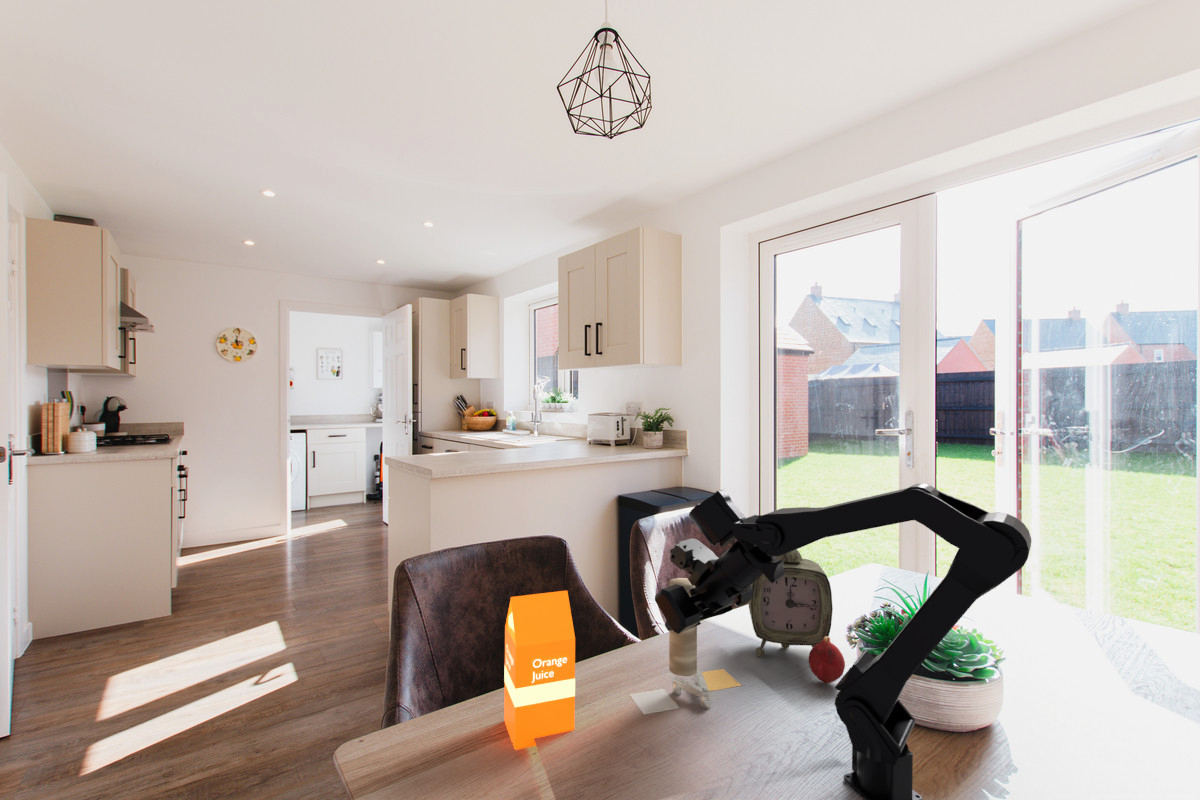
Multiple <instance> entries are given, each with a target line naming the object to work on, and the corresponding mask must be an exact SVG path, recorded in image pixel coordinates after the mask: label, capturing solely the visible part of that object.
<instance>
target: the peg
mask: <svg viewBox="0 0 1200 800" xmlns="http://www.w3.org/2000/svg"><path fill="white" fill-rule="evenodd" d="M688 578H689V577H688ZM688 578H687V577H677V578H672V579H669V581H668V582H669V583H668V584H669V586H672V585H675V584H678V585H681V586H683V587H684V588H685V590H686V591H687V593H688V595H689V596H691V595H690V594H689V592H688V591H689V590H690V589H692V588H695V585H693V586H692V584H691V583H690V581H689V580H688ZM669 586H668V587H669ZM691 597H692V596H691ZM697 634H698V626H696V627H693V628H691V629H689V630H686V631H684V632H682V633H680V634H677V633H675V632H674V631H673V630H671V631H668V640H669V641H668V670H669V671H670V673H672V674H673V675H676V676H677V677H691V676H694V674H695V673H696V672H697V670H698V668H697V667H698V666H697V665H698V661H697V660H698V657H697V656H698V635H697Z"/></svg>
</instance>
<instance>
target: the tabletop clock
mask: <svg viewBox="0 0 1200 800" xmlns="http://www.w3.org/2000/svg"><path fill="white" fill-rule="evenodd" d="M774 557H776V558H778V559H782V560H783V561H784V562H783V568H784V573H785V575H784V576H783V577H782V578H780V579H778V580H777V581H775V582H774V583H771V582H770V581H769V580H768V579H767V577H766V576H765V575H764V574H763V575H762V576H760V577H759V578H758V579H757V580H756V581H755V582H753V583H752V584H751V585H750V586H751V587H752V590H753V598H752V599H751V600H749V601H748V602H747V603H748V609H749V614H750V618H751V623H752V627H753V631H754V633H755V635H756V637H757V638H759V639H760V640H761V644H760V646H758V647H757V648H756V649H755V655H757V656H758V657H763V656H764V655H765V650H764V647H765V646H766V643H767V642H768V643H774V644H775V643H776V644H781V645H780V646H781V648H783V649H789V648H790V646H811V649H812V648H813V647H814V646H815V645H816V644H818V643H820V642H822V641H823V639H824V637H826V636H827V637H829V635H830V633H831V629H832V619H833V596H832V589H831V584H830V581H829V578H828V576H827V574H826V573H825V571H824V570H823V569H822V567H821V565H820V564H819V563H818V562H815V561H814V560H812V559H807V558H803V557H802V555H801V552H800V551H799V549H796V550H793V551H791V552H789V553H786V554H784V555H781V556H774Z"/></svg>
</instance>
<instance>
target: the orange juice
mask: <svg viewBox="0 0 1200 800" xmlns="http://www.w3.org/2000/svg"><path fill="white" fill-rule="evenodd" d="M568 592H569V591H568V590H559V591H553V592H552V591H551V592H550V591H549V592H543V593H542V592H541V593H533V594H526V595H517V596H510V601H509V606H508V609H507V610H508V611H507V615H506V622H505V625H504V671H503V672H504V676H503V677H504V678H503V680H504V681H503V682H504V698H503V699H504V701H503V702H504V706H503V707H504V708H503V709H504V710H503V711H504V712H503V713H504V714H503V715H504V719H503V720H504V724H505V726H506V729H507V733H508V735H509V737H510V741H511V744H512V743H513V744H512V747H513V746H514V747H513V749H515V750H514V751H517V750H518V751H519V750H522V749H523V748H524V749H527V747H528V748H532V746H533V747H535V746H538V745H537V743H536V740H535V739H538V738H542V737H543V738H544V737H548V736H553V735H557V734H562V733H566V732H571V731H574V730H575V716H576V715H575V710H576V709H575V708H576V707H575V706H576V705H575V704H576V701H575V700H576V636H575V629H574V624H573V617H572V611H571V605H570V599H569V593H568ZM516 749H517V750H516Z"/></svg>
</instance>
